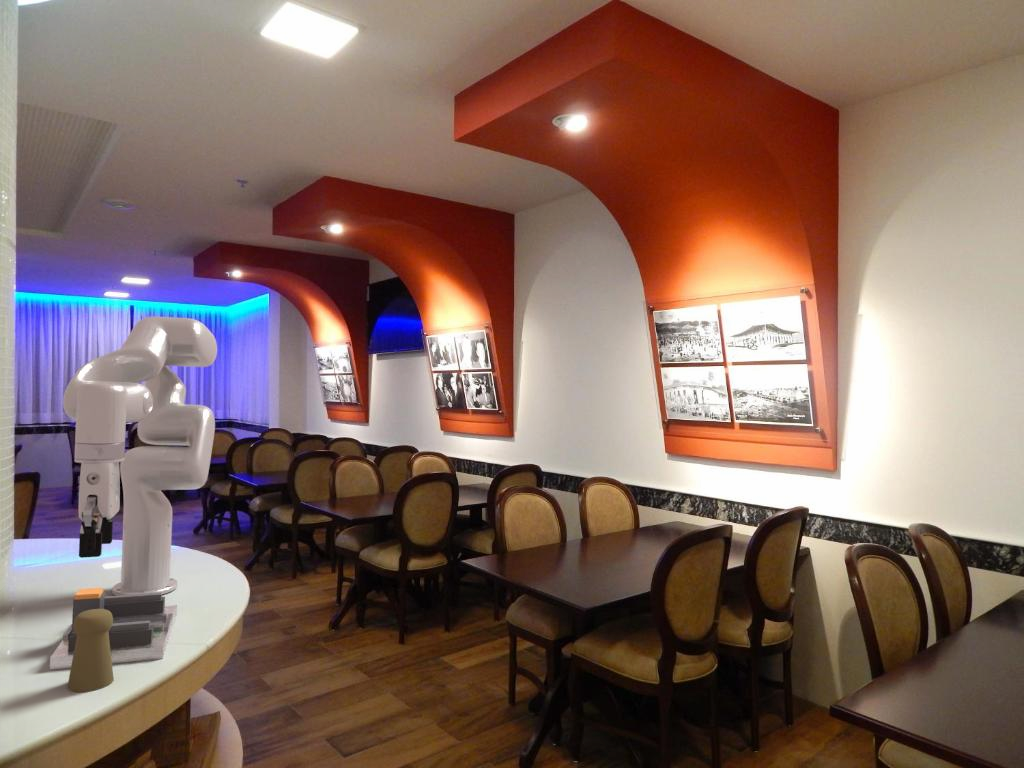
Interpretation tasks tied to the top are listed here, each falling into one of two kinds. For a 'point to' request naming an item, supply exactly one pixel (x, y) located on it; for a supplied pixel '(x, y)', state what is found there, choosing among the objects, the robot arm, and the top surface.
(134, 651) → the panel
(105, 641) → the cork
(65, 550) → the top surface
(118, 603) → the long gray rail
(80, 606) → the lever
